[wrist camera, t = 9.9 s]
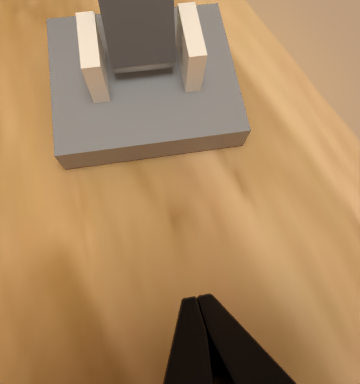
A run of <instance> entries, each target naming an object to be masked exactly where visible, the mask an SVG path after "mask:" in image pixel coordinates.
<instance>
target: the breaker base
mask: <svg viewBox="0 0 360 384" xmlns="http://www.w3.org/2000/svg"><path fill="white" fill-rule="evenodd" d="M174 20H175V43H176V62H175V67H174V68H165V69H155V70H146V71H137V72H128V73H119V74H114V71H113V68H112V69H111V64H110V59H109V53H108V48H107V43H106V38H105V33H104V27H103V22H102V17H101V14H95V13H94V11H90V12H79V13H76V16H72V17H61V18H50V19H47V35H48V52H49V69H50V87H51V104H52V121H53V138H54V155H55V157H56V159H57V160H58V161H59V162H60V164H61V165H62V166H63V167H64V168H65V169H72V168H80V167H87V166H95V165H102V164H109V163H117V162H124V161H132V160H139V159H146V158H154V157H161V156H168V155H176V154H183V153H191V152H198V151H205V150H213V149H220V148H228V147H235V146H242V145H243V144H244V142H245V140H246V138H247V136H248V135H249V133H250V131H251V129H250V126H249V122H248V118H247V114H246V110H245V106H244V102H243V99H242V95H241V91H240V87H239V83H238V79H237V75H236V72H235V68H234V64H233V60H232V56H231V52H230V48H229V45H228V41H227V37H226V33H225V29H224V25H223V21H222V18H221V14H220V10H219V6H218V3H216V4H204V5H196V4H195V2H190V3H179V4H178V7H174Z"/></svg>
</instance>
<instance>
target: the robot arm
mask: <svg viewBox="0 0 360 384" xmlns="http://www.w3.org/2000/svg"><path fill="white" fill-rule="evenodd" d="M163 384H296V383H295V381H294V380H293V379H292V378H291V377H290V376H289V375H288V374H287V373H286V372H285V371H284V370H283V369H282V368H281V367H280V366H279V365H278V364H277V362H276V361H275V360H274V359H273V358H272V357H271V356H270V355H269V354H268V353H267V352H266V351H265V350H264V349H263V348H262V347H261V346H260V344H259V343H258V342H257V341H256V340H255V339H254V338H253V337H252V336H251V335H250V334H249V333H248V332H247V331H246V330H245V329H244V328H243V327H242V325H241V324H240V323H239V322H238V321H237V320H236V319H235V318H234V317H233V316H232V315H231V314H230V313H229V312H228V311H227V310H226V309H225V307H224V306H223V305H222V304H221V303H220V302H219V301H218V300H217V299H216V298H215V297H214V296H213V295H212V294H205V295H199V296H198V297H197V298H196V297H195V296H193V297H188V298H183V299H182V301H181V305H180V310H179V314H178V319H177V323H176V328H175V332H174V337H173V341H172V345H171V350H170V354H169V359H168V363H167V368H166V372H165V377H164V381H163Z"/></svg>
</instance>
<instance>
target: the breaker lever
mask: <svg viewBox="0 0 360 384" xmlns="http://www.w3.org/2000/svg"><path fill="white" fill-rule="evenodd" d="M98 1H99V7H100V12H101V17H102V22H103V27H104V33H105V38H106V43H107V48H108V53H109V59H110V64H111V69H112V68H113V71H114V74H119V73H128V72H137V71H146V70H155V69H165V68H174V67H175V62H176V43H175V20H174V0H98Z"/></svg>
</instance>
